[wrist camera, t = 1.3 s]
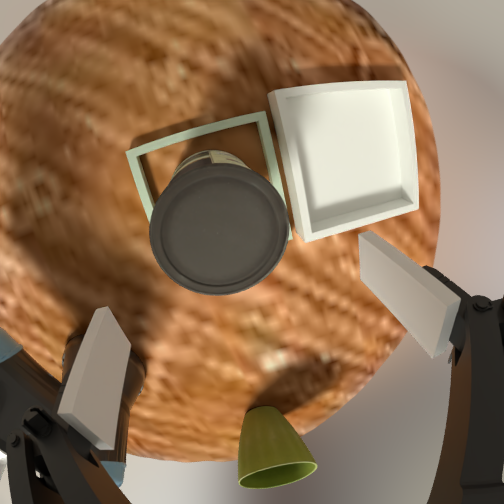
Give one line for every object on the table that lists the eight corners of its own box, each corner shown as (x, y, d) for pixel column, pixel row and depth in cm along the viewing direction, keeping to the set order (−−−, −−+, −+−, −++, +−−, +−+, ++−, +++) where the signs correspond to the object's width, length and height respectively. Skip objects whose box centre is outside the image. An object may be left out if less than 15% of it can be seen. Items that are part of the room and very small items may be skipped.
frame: (171, 269, 36) (170, 274, 34) (128, 150, 29) (125, 151, 27) (289, 234, 37) (292, 238, 35) (262, 111, 30) (265, 110, 28)
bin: (296, 232, 37) (305, 242, 34) (266, 94, 29) (274, 90, 26) (404, 201, 38) (418, 208, 35) (390, 82, 30) (405, 80, 27)
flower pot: (308, 399, 54) (333, 459, 39) (272, 433, 58) (288, 487, 44) (248, 390, 49) (265, 462, 34) (216, 426, 53) (225, 488, 39)
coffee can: (172, 236, 34) (158, 300, 21) (166, 152, 30) (142, 168, 17) (254, 231, 36) (285, 291, 23) (256, 148, 31) (293, 163, 19)
